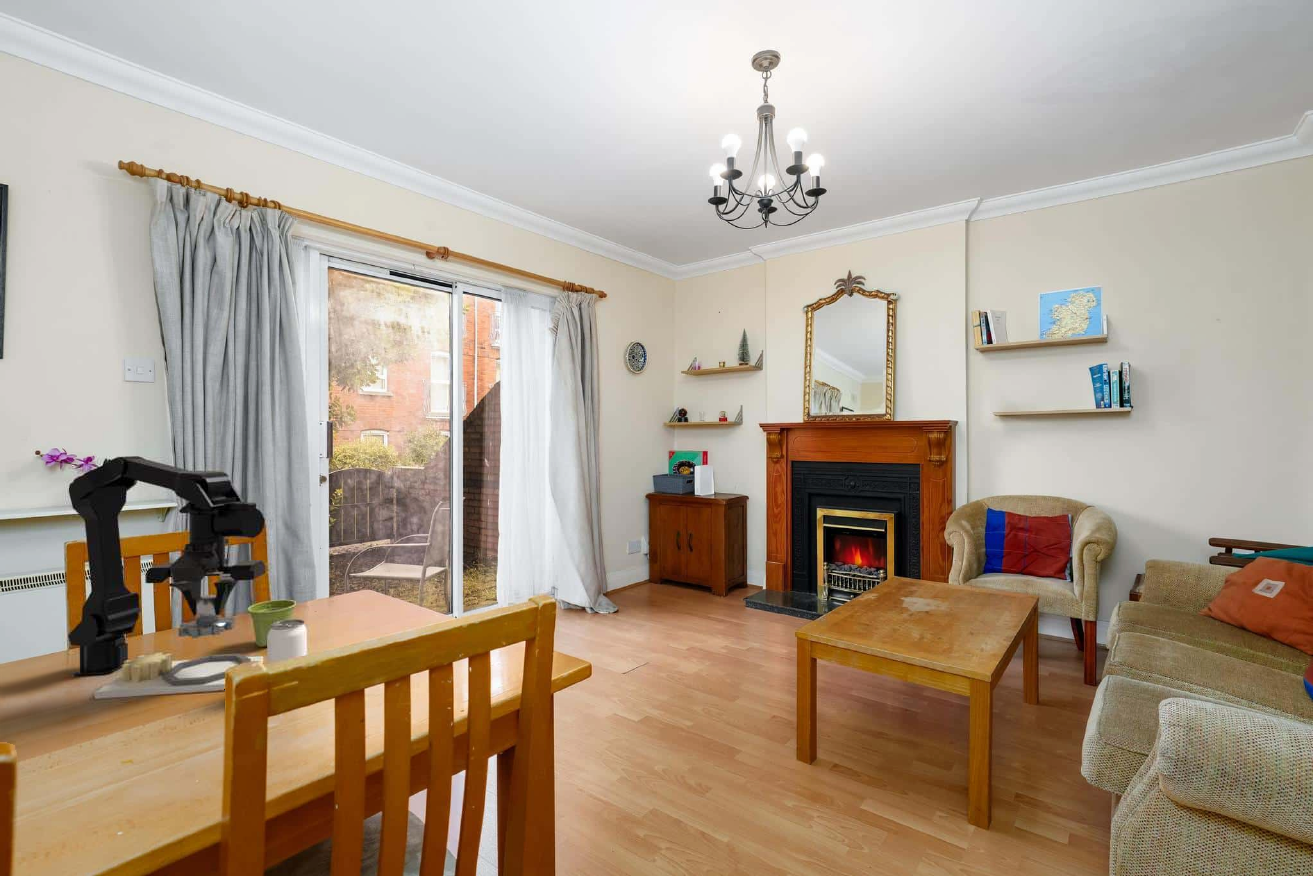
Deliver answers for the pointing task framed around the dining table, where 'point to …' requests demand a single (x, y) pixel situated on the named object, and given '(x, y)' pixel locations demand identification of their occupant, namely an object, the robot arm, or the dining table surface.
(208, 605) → the planet gear
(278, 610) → the plant pot
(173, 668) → the plate
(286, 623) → the can
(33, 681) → the dining table surface
